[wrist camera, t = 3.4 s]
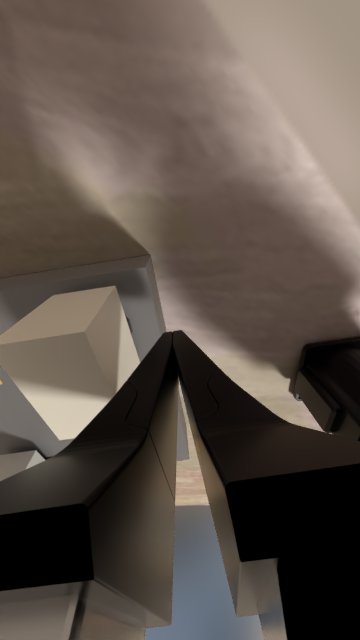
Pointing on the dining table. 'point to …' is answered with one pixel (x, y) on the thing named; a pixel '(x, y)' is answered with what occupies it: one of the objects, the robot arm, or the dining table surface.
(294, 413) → the dining table surface
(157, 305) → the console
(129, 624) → the robot arm
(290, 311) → the dining table surface
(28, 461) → the block
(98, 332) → the cream fader
